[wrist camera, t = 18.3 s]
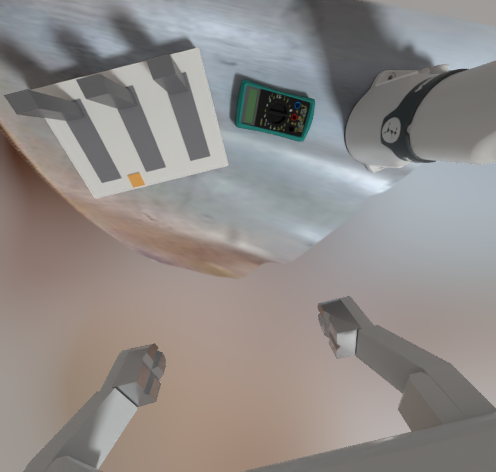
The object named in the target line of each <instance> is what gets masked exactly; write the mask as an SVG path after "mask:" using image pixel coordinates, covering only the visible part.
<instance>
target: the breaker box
mask: <svg viewBox="0 0 496 472" xmlns="http://www.w3.org/2000/svg"><path fill="white" fill-rule="evenodd" d="M170 55H171V57H172V58H173V60H174V61H175V63H176V64H177V66H178V68H179V69H180V71H181V72H182V74H183V75H184V78H185V82H186V85H187V88H188V91H186V92H182V93H178V94H174V95H170V94H169V93H168V92H167V91H166V90H164V89H163V88H162V87H161V86H160V85H159V84H157V83H156V82H155V81H154V80H153V78H152V75H151V73H150V70H149V67H148V64H147V61H143V62H139V63H135V64H131V65H127V66H123V67H119V68H115V69H111V70H107V71H103V72H99V73H95V74H91V75H87V76H84V77H88V76H92V75H96V74H101V75H103V76H105V77H107V78H108V79H110V80H112V81H114V82H116V83H118V84H119V85H121V86H123V87H125V88H127V89H129V90H130V91H131V92H132V94H133V96H134V99H135V101H136V104H137V106H133V107H129V108H125V109H121V110H120V109H116V108H113V107H110V106H107V105H103V104H100V103H97V102H94V101H90V100H87V99H86V98H85V96H84V94H83V93H82V91H81V89H80V87H79V85H78V83H77V81H76V79H80V78H84V77H80V78H76V79H72V80H68V81H64V82H60V83H56V84H52V85H48V86H44V87H40V88H36V89H32V91H36V92H39V93H43V94H47V95H50V96H54V97H58V98H62V99H65V100H69V101H73V102H77V103H78V105H79V107H80V108H81V110H82V112H83V114H84V116H85V117H82V118H78V119H74V120H71V121H63V120H56V119H48V118H45V119H46V121H47V122H48V124H49V126H50V127H51V129H52V130H53V132H54V134H55V135H56V137H57V138H58V140H59V142H60V143H61V145H62V147H63V148H64V150H65V151H66V153H67V155H68V156H69V158H70V159H71V161H72V163H73V164H74V166H75V167H76V169H77V171H78V172H79V174H80V175H81V177H82V179H83V180H84V182H85V183H86V185H87V187H88V188H89V190H90V191H91V193H92V195H93V196H94V198H95V199H96V198H100V197H104V196H108V195H113V194H117V193H121V192H125V191H129V190H133V189H137V188H141V187H145V186H149V185H153V184H157V183H161V182H165V181H169V180H173V179H177V178H181V177H185V176H189V175H193V174H197V173H201V172H205V171H209V170H213V169H217V168H221V167H225V166H229V164H228V160H227V156H226V152H225V148H224V144H223V140H222V136H221V132H220V128H219V124H218V121H217V117H216V113H215V109H214V105H213V101H212V97H211V93H210V89H209V85H208V81H207V77H206V73H205V69H204V65H203V61H202V57H201V54H200V50H199V47H198V48H194V49H190V50H186V51H182V52H178V53H174V54H170Z"/></svg>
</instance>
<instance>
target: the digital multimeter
mask: <svg viewBox="0 0 496 472" xmlns="http://www.w3.org/2000/svg"><path fill="white" fill-rule="evenodd" d="M303 100H304V101H303ZM286 106H287V107H286ZM314 107H315V100H314V99H311V98H307V97H302V96H298V95H293V94H289V93H285V92H281V91H278V90H275V89H271V88H268V87H265V86H262V85H259V84H256V83H253V82H251V81H248V80H243V81H242V84H241V88H240V93H239V98H238V104H237V112H236V127H239V128H244V129H250V130H255V131H260V132H265V133H269V134H273V135H277V136H281V137H285V138H288V139H292V140H295V141H304V139H305V137H306V135H307V133H308V131H309V129H310V126H311V123H312V120H313V115H314ZM307 115H308V116H307ZM305 122H306V123H305ZM285 133H286V134H285ZM289 134H290V135H289Z"/></svg>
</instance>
